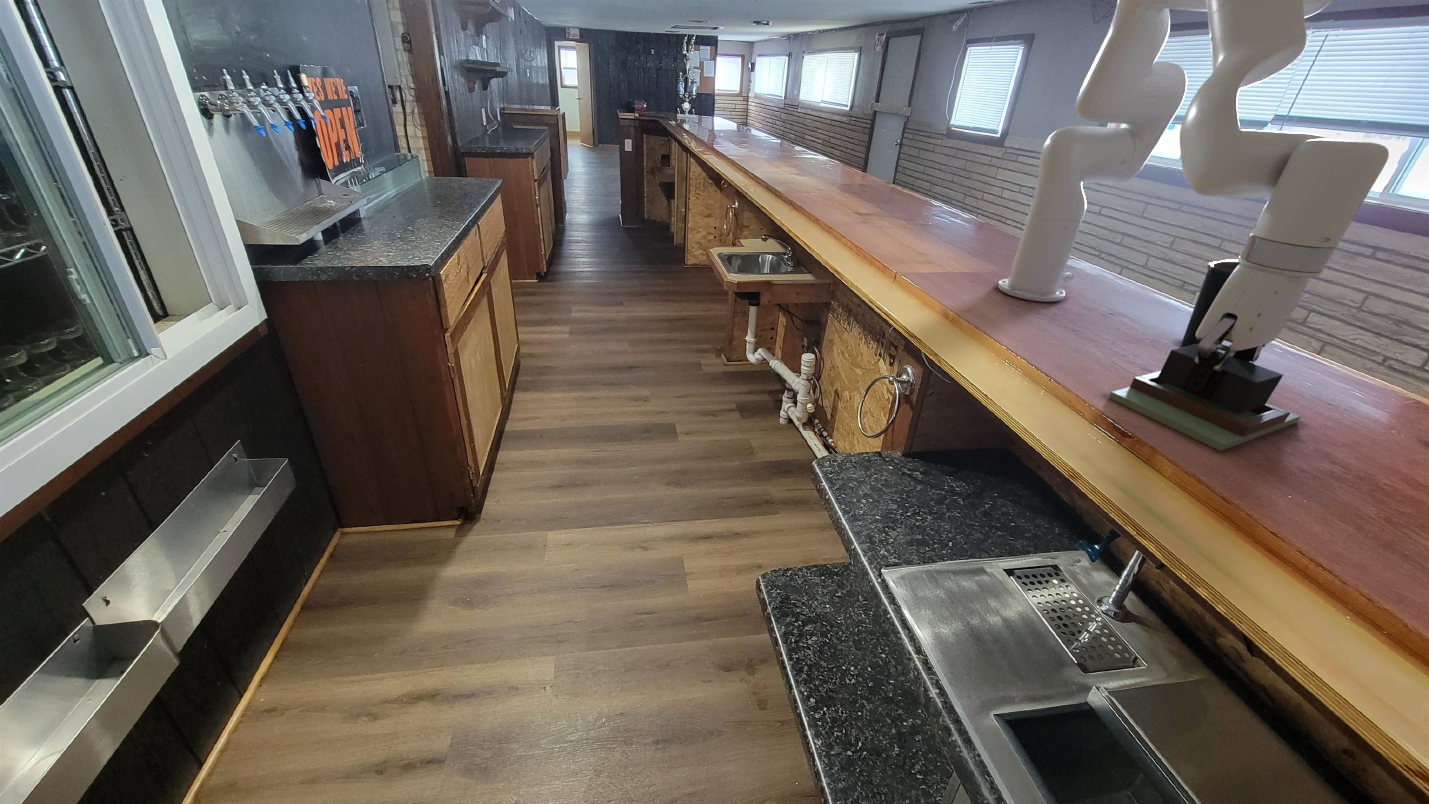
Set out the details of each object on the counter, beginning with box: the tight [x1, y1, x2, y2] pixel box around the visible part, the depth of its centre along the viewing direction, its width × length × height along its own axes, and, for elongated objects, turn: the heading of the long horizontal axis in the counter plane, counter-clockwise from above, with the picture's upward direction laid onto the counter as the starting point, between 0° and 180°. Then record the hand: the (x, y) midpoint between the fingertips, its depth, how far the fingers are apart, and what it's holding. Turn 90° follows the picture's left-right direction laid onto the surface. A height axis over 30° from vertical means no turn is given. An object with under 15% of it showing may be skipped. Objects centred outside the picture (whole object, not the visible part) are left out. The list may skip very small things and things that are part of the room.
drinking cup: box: [1180, 259, 1240, 351], centre depth 91 cm, size 8×8×20 cm
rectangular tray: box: [1108, 370, 1302, 452], centre depth 76 cm, size 18×14×2 cm
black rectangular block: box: [1157, 344, 1284, 414], centre depth 74 cm, size 10×6×4 cm, turn 25°
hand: (1210, 388), depth 75 cm, fingers closed on black rectangular block, 6 cm apart
